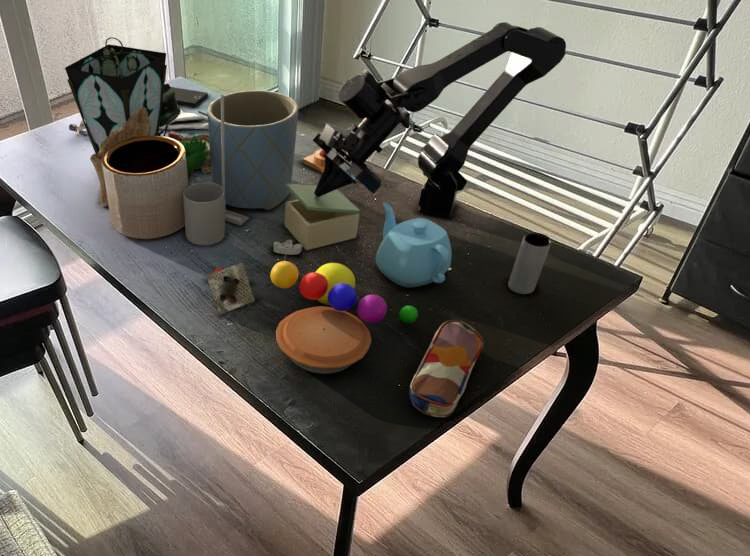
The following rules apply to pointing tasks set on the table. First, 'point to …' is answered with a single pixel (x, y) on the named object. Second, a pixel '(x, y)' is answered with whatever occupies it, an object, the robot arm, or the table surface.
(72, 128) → the person figure
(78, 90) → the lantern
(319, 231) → the cream storage box
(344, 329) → the pie
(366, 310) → the spheres
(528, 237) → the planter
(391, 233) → the teapot
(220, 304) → the tan textured box
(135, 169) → the planter
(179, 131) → the feather
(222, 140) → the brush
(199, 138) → the decorative book
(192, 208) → the cup
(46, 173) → the table surface
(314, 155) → the button housing
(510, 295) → the table surface
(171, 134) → the denture
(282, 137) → the planter
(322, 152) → the button
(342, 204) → the lid
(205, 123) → the cloth
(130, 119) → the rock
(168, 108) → the headphones
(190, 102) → the cell phone
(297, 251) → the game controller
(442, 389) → the pencil case
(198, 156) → the toy
